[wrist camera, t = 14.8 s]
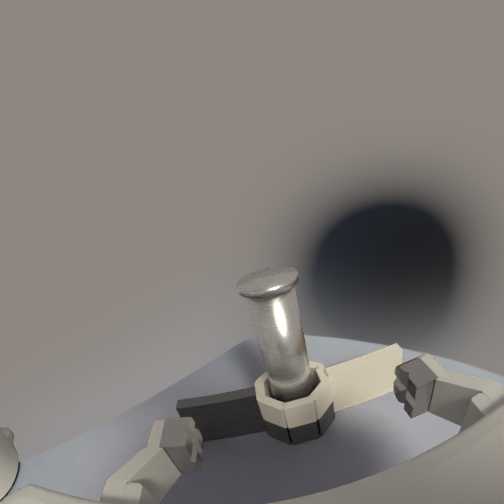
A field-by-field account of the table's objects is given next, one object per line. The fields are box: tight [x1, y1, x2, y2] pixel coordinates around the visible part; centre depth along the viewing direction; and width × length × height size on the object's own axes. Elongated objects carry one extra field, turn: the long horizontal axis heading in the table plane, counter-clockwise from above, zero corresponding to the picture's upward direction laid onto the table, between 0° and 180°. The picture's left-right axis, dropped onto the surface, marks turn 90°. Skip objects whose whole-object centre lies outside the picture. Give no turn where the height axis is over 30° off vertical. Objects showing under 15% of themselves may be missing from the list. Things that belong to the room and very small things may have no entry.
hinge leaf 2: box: [255, 343, 402, 429], centre depth 24 cm, size 14×6×5 cm, turn 94°
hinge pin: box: [237, 266, 314, 403], centre depth 23 cm, size 4×4×15 cm
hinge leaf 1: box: [176, 387, 335, 445], centre depth 24 cm, size 14×6×5 cm, turn 95°
